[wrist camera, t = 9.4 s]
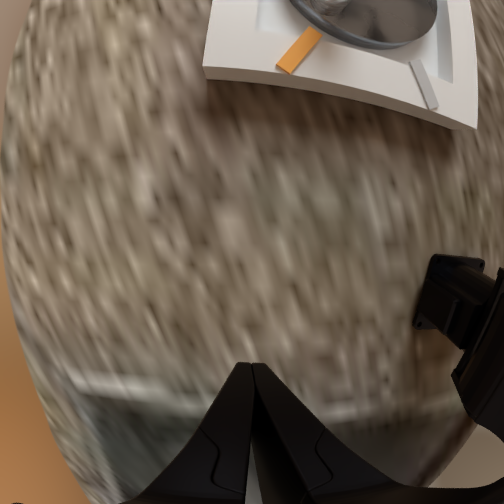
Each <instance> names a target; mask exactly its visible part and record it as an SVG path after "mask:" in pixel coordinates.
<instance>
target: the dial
mask: <svg viewBox="0 0 504 504" xmlns="http://www.w3.org/2000/svg"><path fill="white" fill-rule="evenodd" d="M289 1H290V2H291V3H292V5H293V6H294V7H295V8H296V9H297V10H298V11H299V12H300V14H301V15H303V16H304V17H305V18H306V19H307V20H308V21H309V22H311V23H312V24H314V25H315V26H316V27H318V28H319V29H321V30H322V31H324V32H326V33H327V34H329V35H331V36H333V37H335V38H337V39H339V40H341V41H344V42H346V43H349V44H352V45H355V46H359V47H363V48H368V49H376V50H389V49H395V48H399V47H402V46H405V45H407V44H409V43H411V42H413V41H414V40H416V39H418V38H420V37H422V36H424V35H425V34H426V33H427V32H429V30H430V29H431V28H432V27H433V25H434V22H435V20H436V16H437V8H438V6H437V0H289Z"/></svg>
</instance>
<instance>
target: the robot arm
mask: <svg viewBox="0 0 504 504" xmlns="http://www.w3.org/2000/svg"><path fill="white" fill-rule="evenodd" d="M437 259H438V261H437V262H436V260H437ZM484 266H485V261H484V260H482V259H480V258H472V257H463V256H454V255H444V254H434V255H433V256H432V258H431V261H430V265H429V269H428V273H427V277H426V280H425V284H424V287H423V291H422V294H421V298H420V301H419V304H418V308H417V311H416V314H415V317H414V320H413V324H412V325H413V327H414V328H415V329H417V330H421V329H438V330H439V331H440V332H441V333H442V334H443V335H445V336H447V337H448V338H449V339H450V340H451V341H452V342H453V343H454V344H455V345H456V346H457V347H458V348H459V349H462V350H463V351H464V354H463V356H462V358H461V359H460V361H459V363H458V365H457V367H456V369H454V370H453V372H452V374H451V377H452V379H453V382H454V384H455V386H456V389H457V391H458V393H459V396H460V398H461V402H462V403H463V406H464V408H465V410H466V412H467V414H468V416H469V417H471V418H472V419H473V420H474V422H475V423H477V424H479V425H481V426H483V427H485V428H487V429H488V430H490V431H491V432H493V433H494V434H495V435H497V437H499V438H500V439H501V440H502V441H503V442H504V268H501V267H499V270H498V272H497V275H498V276H497V279H496V281H495V280H494V279H492V278H490V277H489V276H487V275H485V274H483V270H484ZM418 323H419V324H418ZM417 324H418V325H417ZM251 443H252V449H253V454H254V460H255V465H256V471H257V476H258V481H259V487H260V492H261V497H262V502H263V504H504V477H503V478H501V479H499V480H497V481H496V482H494V483H492V484H489V485H486V486H482V487H477V488H428V487H413V486H407V485H403V484H401V483H398V482H396V481H394V480H392V479H391V478H389V477H387V476H386V475H385V474H383V473H382V472H380V471H379V470H377V469H376V468H375V467H373V466H372V465H370V464H369V463H368V462H366V461H365V460H364V459H362V458H361V457H359V456H358V455H357V454H356V453H354V452H353V451H352V450H351V449H349V448H348V447H347V446H346V445H344V444H343V443H342V442H341V441H340V440H339V439H338V438H337V437H336V436H335V435H334V434H333V433H332V432H331V431H330V430H329V429H328V428H326V427H325V426H324V425H323V424H322V423H321V422H320V421H319V420H318V419H317V418H316V417H315V415H314V414H313V413H312V412H311V411H310V410H309V409H308V408H307V407H306V406H305V405H304V404H303V403H302V402H301V401H300V400H299V399H298V398H297V397H296V396H295V395H294V394H293V393H292V392H291V391H290V390H289V389H288V387H287V386H286V385H285V384H284V383H283V382H282V381H281V380H280V379H279V378H278V377H277V376H276V375H275V374H274V372H273V371H272V370H271V369H270V368H269V367H268V366H267V365H266V364H265V363H252V364H251V363H249V362H237V363H236V365H235V367H234V368H233V370H232V372H231V373H230V375H229V377H228V378H227V380H226V382H225V383H224V385H223V387H222V388H221V390H220V392H219V393H218V395H217V397H216V398H215V400H214V401H213V403H212V405H211V406H210V408H209V410H208V411H207V413H206V414H205V416H204V418H203V419H202V421H201V422H200V424H199V426H198V428H197V429H196V430H195V432H194V433H193V435H192V436H191V438H190V439H189V441H188V442H187V443H186V445H185V446H184V448H183V449H182V450H181V451H180V453H179V454H178V455H177V456H176V457H175V458H174V460H173V461H172V462H171V463H170V464H169V465H168V466H167V467H166V468H165V469H164V470H163V471H162V472H161V473H160V474H159V475H158V476H157V477H156V478H155V479H154V481H153V482H152V483H151V484H150V485H149V486H148V487H147V488H146V489H144V490H143V491H142V492H141V493H140V494H139V495H137V496H136V497H134V498H132V499H130V500H128V501H125V502H122V503H119V504H245V495H246V486H247V476H248V465H249V455H250V444H251ZM13 504H22V503H13Z"/></svg>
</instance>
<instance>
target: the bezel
mask: <svg viewBox="0 0 504 504" xmlns="http://www.w3.org/2000/svg"><path fill="white" fill-rule="evenodd" d="M437 6H438V8H437V16H436V20H435V22H434V25H433V27H432V28H431V29H430V30H429V32H427V33H426V34H425V35H424V36H422V37H420V38H418V39H416V40H414V41H413V42H411V43H409V44H407V45H405V46H402V47H399V48H395V49H389V50H376V49H368V48H363V47H359V46H355V45H352V44H349V43H346V42H344V41H341V40H339V39H337V38H335V37H333V36H331V35H329V34H327V33H326V32H324V31H322V30H321V29H319V28H318V27H316V26H315V25H314V24H312V23H311V22H309V21H308V20H307V19H306V18H305V17H304V16H303V15H301V14H300V12H299V11H298V10H297V9H296V8H295V7H294V6H293V5H292V3H291V2H290V1H289V0H213V3H212V8H211V14H210V20H209V26H208V32H207V38H206V45H205V51H204V58H203V65H202V66H203V69H204V73H205V76H206V79H214V80H229V81H240V82H251V83H260V84H268V85H276V86H283V87H290V88H296V89H302V90H308V91H314V92H319V93H324V94H329V95H334V96H339V97H343V98H348V99H352V100H357V101H361V102H365V103H369V104H373V105H376V106H380V107H384V108H387V109H391V110H394V111H398V112H401V113H404V114H408V115H411V116H414V117H417V118H420V119H423V120H426V121H429V122H432V123H435V124H438V125H440V126H443V127H446V128H448V129H451V130H464V129H477V117H478V78H477V58H476V46H475V36H474V27H473V20H472V13H471V7H470V1H469V0H437Z"/></svg>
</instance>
